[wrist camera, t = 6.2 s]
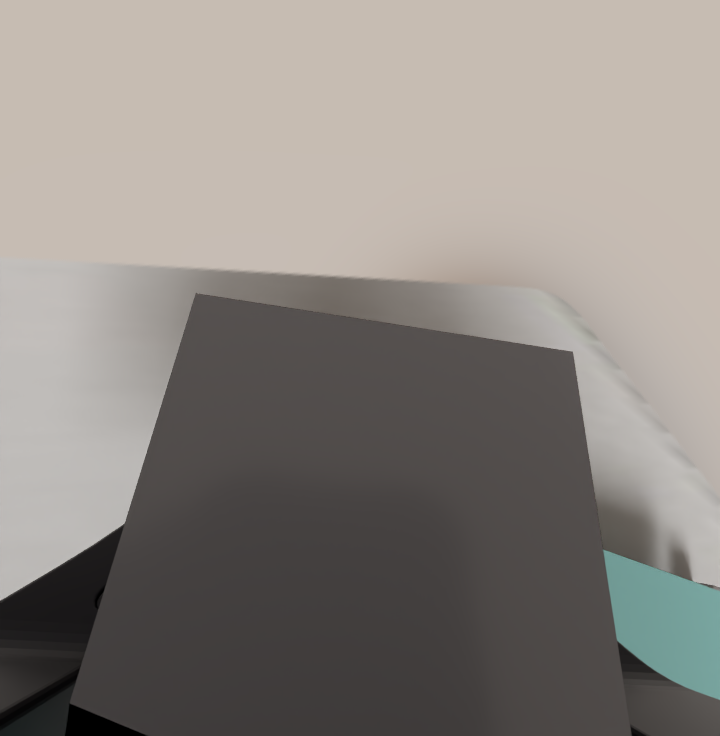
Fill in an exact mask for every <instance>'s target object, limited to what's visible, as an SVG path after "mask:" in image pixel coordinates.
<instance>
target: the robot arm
mask: <svg viewBox="0 0 720 736" xmlns="http://www.w3.org/2000/svg"><path fill="white" fill-rule="evenodd" d="M124 525H125V524H123V525H122V526H121V527H119V528H118V529H116V530H115V531H113V532H112V533H110V534H109V535H107V536H106V537H104V538H103V539H101V540H100V541H98V542H97V543H95V544H94V545H92V546H91V547H89V548H88V549H86V550H84V551H83V552H81V553H79V554H78V555H76V556H75V557H73V558H71V559H70V560H68V561H66V562H65V563H63V564H62V565H60V566H58V567H57V568H55V569H53V570H52V571H50V572H48V573H46V574H45V575H43V576H41V577H40V578H38V579H36V580H35V581H33V582H31V583H30V584H28V585H26V586H25V587H23V588H21V589H20V590H18V591H16V592H14V593H13V594H11V595H9V596H8V597H6V598H4V599H3V600H1V601H0V736H65V732H66V724H67V717H68V710H69V703H70V700H71V697H72V693H73V690H74V687H75V684H76V680H77V677H78V674H79V671H80V667H81V664H82V661H83V658H84V655H85V651H86V648H87V645H88V642H89V638H90V635H91V632H92V629H93V625H94V622H95V619H96V616H97V612H98V609H99V606H100V603H101V599H102V596H103V593H104V590H105V586H106V583H107V580H108V577H109V573H110V570H111V567H112V564H113V561H114V557H115V554H116V551H117V548H118V544H119V541H120V538H121V535H122V531H123V528H124ZM617 643H618V650H619V656H620V663H621V669H622V676H623V682H624V689H625V695H626V702H627V708H628V715H629V721H630V728H631V734H632V736H720V700H719V699H716V698H713V697H710V696H708V695H705V694H702V693H699V692H696V691H694V690H691V689H689V688H686V687H684V686H682V685H680V684H678V683H676V682H674V681H672V680H670V679H668V678H667V677H665V676H663V675H662V674H660V673H658V672H657V671H655V670H654V669H652V668H651V667H649V666H648V665H646V664H645V663H644V662H643V661H641V660H640V659H639V658H638V657H636V656H635V655H634V654H633V653H631V652H630V651H629V650H628V649H627V648H625V647H624V646H623V645H622V644H621V643H619V642H618V641H617Z"/></svg>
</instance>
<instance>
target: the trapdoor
mask: <svg viewBox="0 0 720 736" xmlns="http://www.w3.org/2000/svg"><path fill="white" fill-rule="evenodd" d="M603 552H604V559H605V565H606V572H607V578H608V585H609V591H610V598H611V604H612V611H613V617H614V624H615V630H616V637H617V641H618V642H619V643H621V644H622V645H623V646H624V647H625V648H627V649H628V650H629V651H630V652H631V653H633V654H634V655H635V656H636V657H638V658H639V659H640V660H641V661H643V662H644V663H645V664H646V665H648V666H649V667H651V668H652V669H654V670H655V671H657V672H658V673H660V674H662V675H663V676H665V677H667V678H668V679H670V680H672V681H674V682H676V683H678V684H680V685H682V686H684V687H686V688H689V689H691V690H694V691H696V692H699V693H702V694H705V695H708V696H710V697H713V698H716V699H719V700H720V591H718V590H715V589H712V588H709V587H707V586H704V585H701V584H698V583H695V582H693V581H690V580H687V579H684V578H681V577H679V576H676V575H673V574H670V573H667V572H665V571H662V570H659V569H656V568H653V567H651V566H648V565H645V564H642V563H639V562H637V561H634V560H631V559H628V558H626V557H623V556H620V555H617V554H614V553H612V552H609V551H606V550H603Z"/></svg>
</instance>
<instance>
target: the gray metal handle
mask: <svg viewBox="0 0 720 736" xmlns="http://www.w3.org/2000/svg"><path fill="white" fill-rule="evenodd" d="M65 736H632V734H631V728H630V721H629V715H628V708H627V702H626V695H625V689H624V682H623V676H622V669H621V663H620V656H619V650H618V643H617V637H616V630H615V624H614V617H613V611H612V604H611V598H610V591H609V585H608V578H607V572H606V565H605V559H604V552H603V546H602V539H601V533H600V526H599V519H598V513H597V506H596V500H595V493H594V487H593V480H592V474H591V467H590V461H589V454H588V448H587V441H586V435H585V428H584V422H583V415H582V409H581V402H580V396H579V389H578V383H577V376H576V370H575V363H574V357H573V352H570V351H564V350H557V349H551V348H544V347H538V346H532V345H525V344H519V343H512V342H506V341H499V340H493V339H486V338H480V337H474V336H467V335H461V334H454V333H448V332H441V331H435V330H428V329H422V328H416V327H409V326H403V325H396V324H390V323H383V322H377V321H371V320H364V319H358V318H351V317H345V316H338V315H332V314H325V313H319V312H313V311H306V310H300V309H293V308H287V307H280V306H274V305H267V304H261V303H255V302H248V301H242V300H235V299H229V298H222V297H216V296H210V295H203V294H197V293H196V295H195V298H194V301H193V304H192V308H191V311H190V314H189V317H188V321H187V324H186V327H185V330H184V334H183V337H182V340H181V343H180V347H179V350H178V353H177V356H176V360H175V363H174V366H173V369H172V373H171V376H170V379H169V382H168V385H167V389H166V392H165V395H164V398H163V402H162V405H161V408H160V411H159V415H158V418H157V421H156V424H155V428H154V431H153V434H152V437H151V441H150V444H149V447H148V450H147V454H146V457H145V460H144V463H143V467H142V470H141V473H140V476H139V479H138V483H137V486H136V489H135V492H134V496H133V499H132V502H131V505H130V509H129V512H128V515H127V518H126V522H125V525H124V528H123V531H122V535H121V538H120V541H119V544H118V548H117V551H116V554H115V557H114V561H113V564H112V567H111V570H110V573H109V577H108V580H107V583H106V586H105V590H104V593H103V596H102V599H101V603H100V606H99V609H98V612H97V616H96V619H95V622H94V625H93V629H92V632H91V635H90V638H89V642H88V645H87V648H86V651H85V655H84V658H83V661H82V664H81V667H80V671H79V674H78V677H77V680H76V684H75V687H74V690H73V693H72V697H71V700H70V703H69V710H68V717H67V724H66V732H65Z"/></svg>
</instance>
